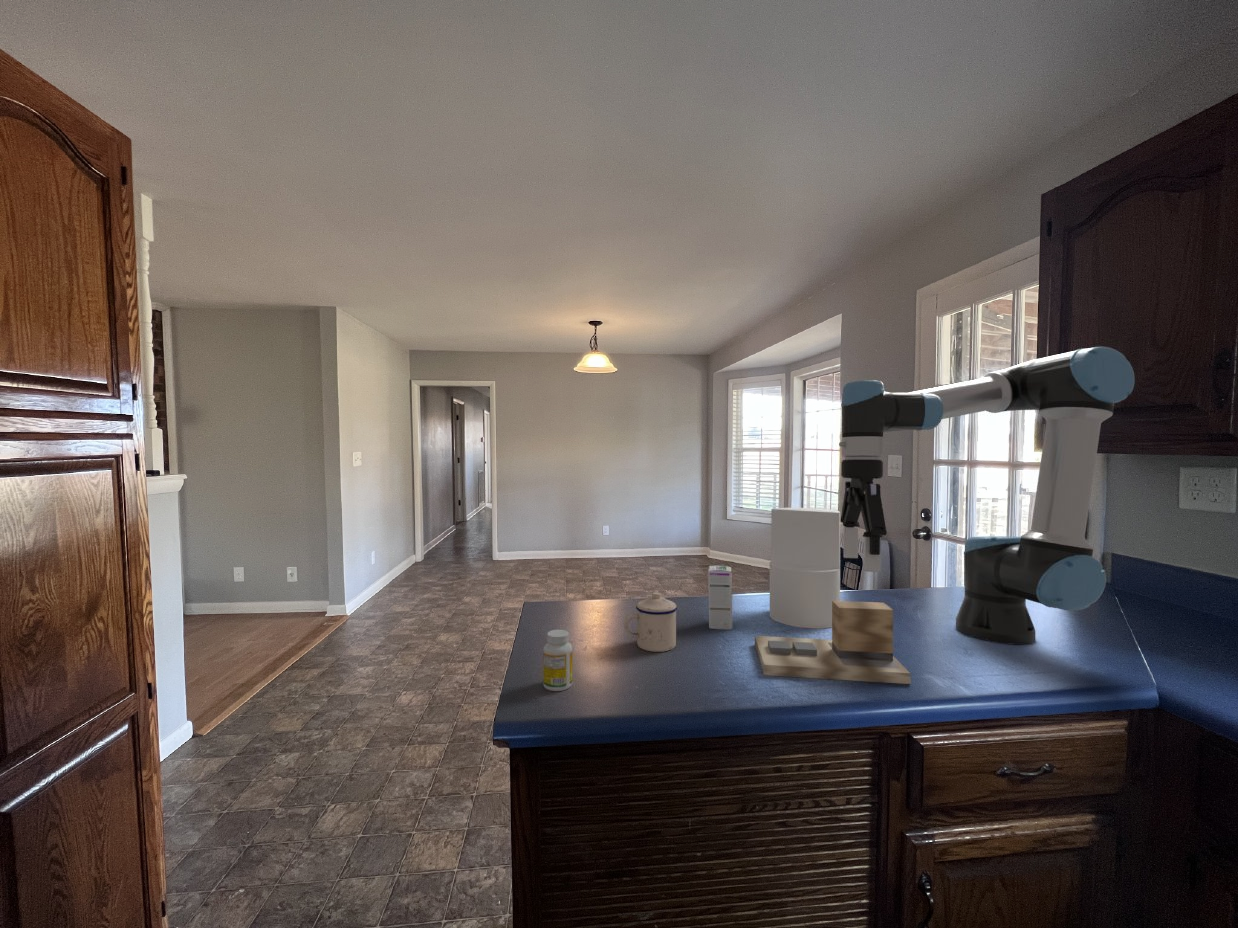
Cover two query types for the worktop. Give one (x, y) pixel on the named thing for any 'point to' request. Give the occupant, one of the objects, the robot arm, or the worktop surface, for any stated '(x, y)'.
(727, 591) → the syrup box
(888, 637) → the sanding block
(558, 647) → the supplement bottle
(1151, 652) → the worktop surface
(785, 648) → the chip
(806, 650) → the chip
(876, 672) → the maple board
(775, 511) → the cylinder
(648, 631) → the teacup with lid
